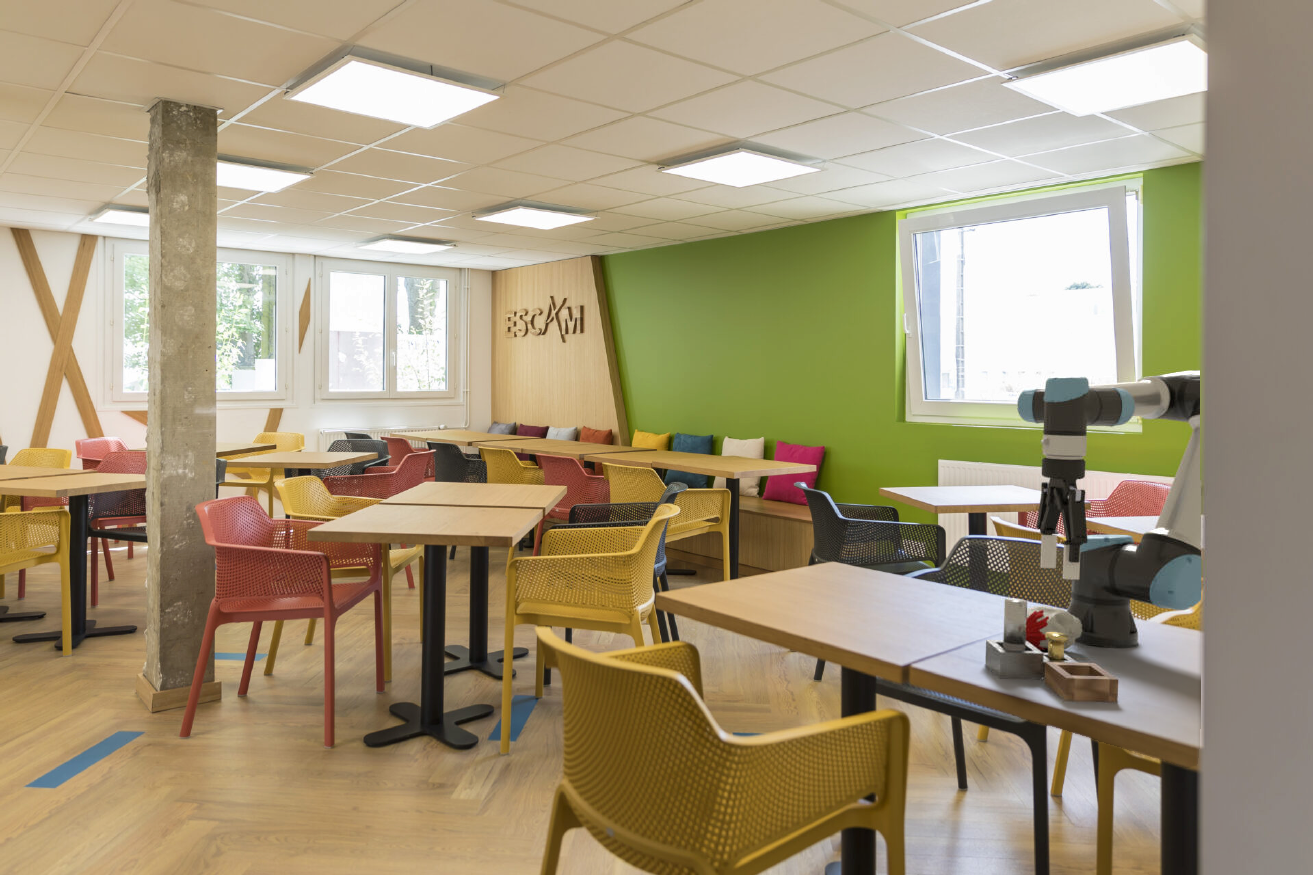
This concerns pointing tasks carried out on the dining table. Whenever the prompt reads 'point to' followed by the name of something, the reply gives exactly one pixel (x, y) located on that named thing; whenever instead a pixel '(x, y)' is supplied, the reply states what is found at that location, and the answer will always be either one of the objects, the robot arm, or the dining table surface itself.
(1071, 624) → the white and red lump
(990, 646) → the socket
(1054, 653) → the gold bolt
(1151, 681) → the dining table surface
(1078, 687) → the wooden box
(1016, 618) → the silver metal cylinder
